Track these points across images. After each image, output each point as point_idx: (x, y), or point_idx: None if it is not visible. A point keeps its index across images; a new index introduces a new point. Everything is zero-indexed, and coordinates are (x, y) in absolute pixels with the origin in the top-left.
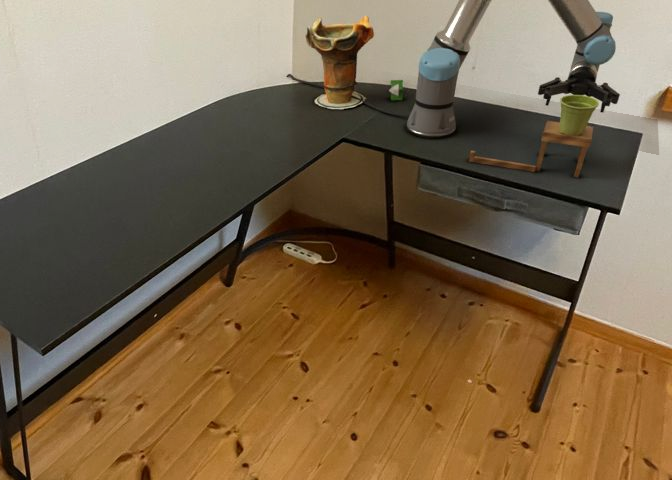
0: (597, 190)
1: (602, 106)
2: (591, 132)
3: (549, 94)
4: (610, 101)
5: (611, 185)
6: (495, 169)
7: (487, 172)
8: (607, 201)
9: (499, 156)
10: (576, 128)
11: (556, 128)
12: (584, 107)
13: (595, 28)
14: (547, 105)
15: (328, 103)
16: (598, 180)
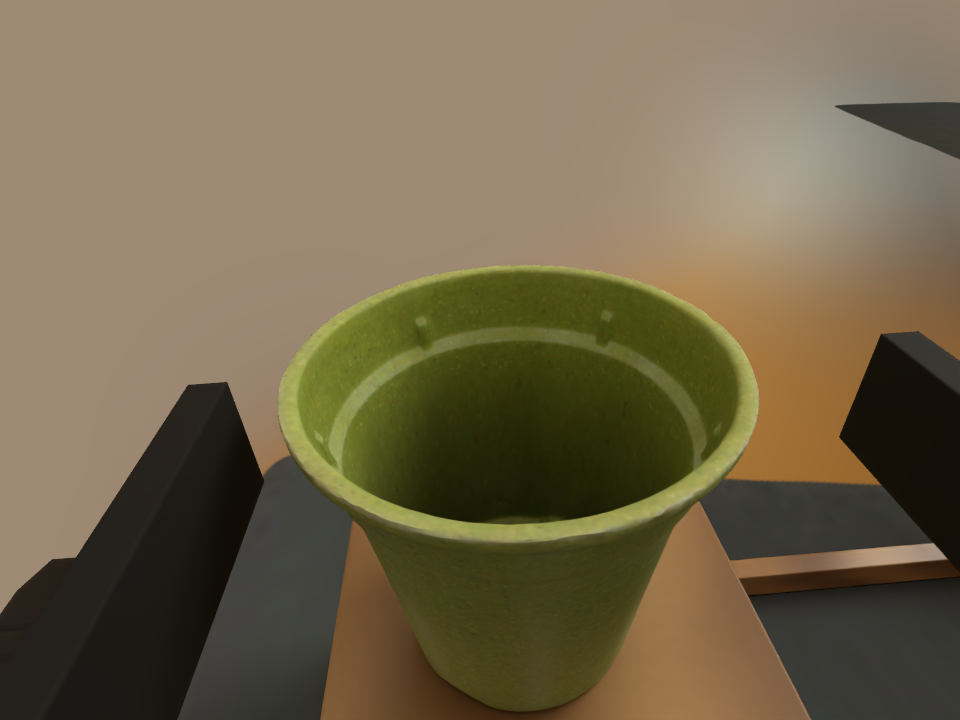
0: (318, 538)
1: (237, 429)
2: (333, 685)
3: (939, 360)
4: (46, 573)
5: (238, 615)
6: (806, 534)
7: (810, 493)
8: (292, 474)
9: (939, 715)
10: (471, 467)
11: (659, 634)
12: (444, 585)
13: None
14: (847, 432)
15: None
16: (296, 644)
